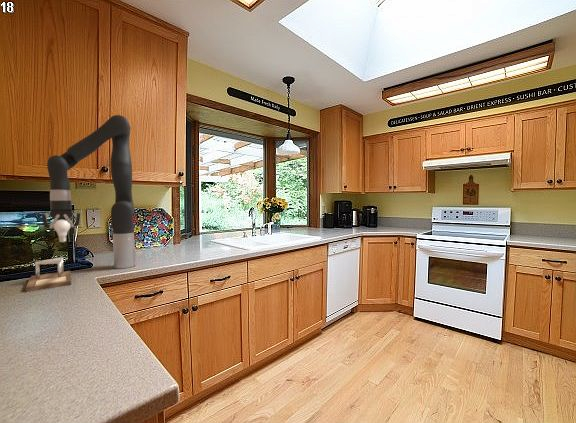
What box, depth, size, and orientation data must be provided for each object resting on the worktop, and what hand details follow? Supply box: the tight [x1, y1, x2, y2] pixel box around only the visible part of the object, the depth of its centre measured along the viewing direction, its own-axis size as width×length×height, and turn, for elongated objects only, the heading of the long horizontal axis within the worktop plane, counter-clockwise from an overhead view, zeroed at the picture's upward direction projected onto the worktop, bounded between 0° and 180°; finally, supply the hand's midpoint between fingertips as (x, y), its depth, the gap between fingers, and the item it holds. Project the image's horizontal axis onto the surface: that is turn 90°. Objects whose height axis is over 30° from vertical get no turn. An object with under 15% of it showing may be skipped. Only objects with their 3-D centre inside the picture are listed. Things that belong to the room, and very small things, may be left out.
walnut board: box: [25, 270, 72, 292], centre depth 112 cm, size 13×20×2 cm, turn 39°
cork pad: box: [35, 276, 66, 286], centre depth 108 cm, size 9×7×1 cm
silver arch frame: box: [34, 256, 65, 279], centre depth 115 cm, size 9×9×7 cm
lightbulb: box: [53, 220, 71, 243], centre depth 126 cm, size 6×6×11 cm
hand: (62, 235), depth 126 cm, fingers closed on lightbulb, 6 cm apart
